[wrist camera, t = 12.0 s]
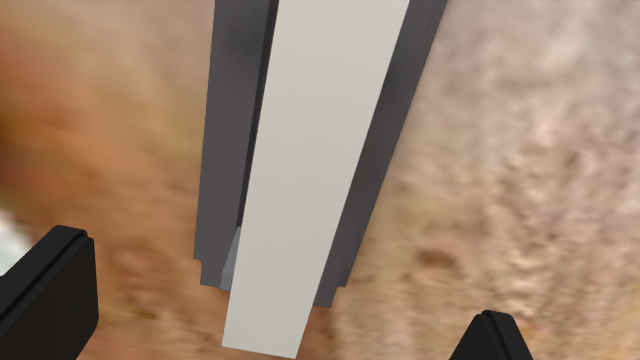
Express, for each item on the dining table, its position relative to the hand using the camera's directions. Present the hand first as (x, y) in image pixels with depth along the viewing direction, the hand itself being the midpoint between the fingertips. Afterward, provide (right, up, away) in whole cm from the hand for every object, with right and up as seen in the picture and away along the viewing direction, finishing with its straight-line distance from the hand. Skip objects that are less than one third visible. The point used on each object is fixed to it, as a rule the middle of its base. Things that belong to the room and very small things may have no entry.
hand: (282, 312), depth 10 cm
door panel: (0, +7, +11) cm, 13 cm away
